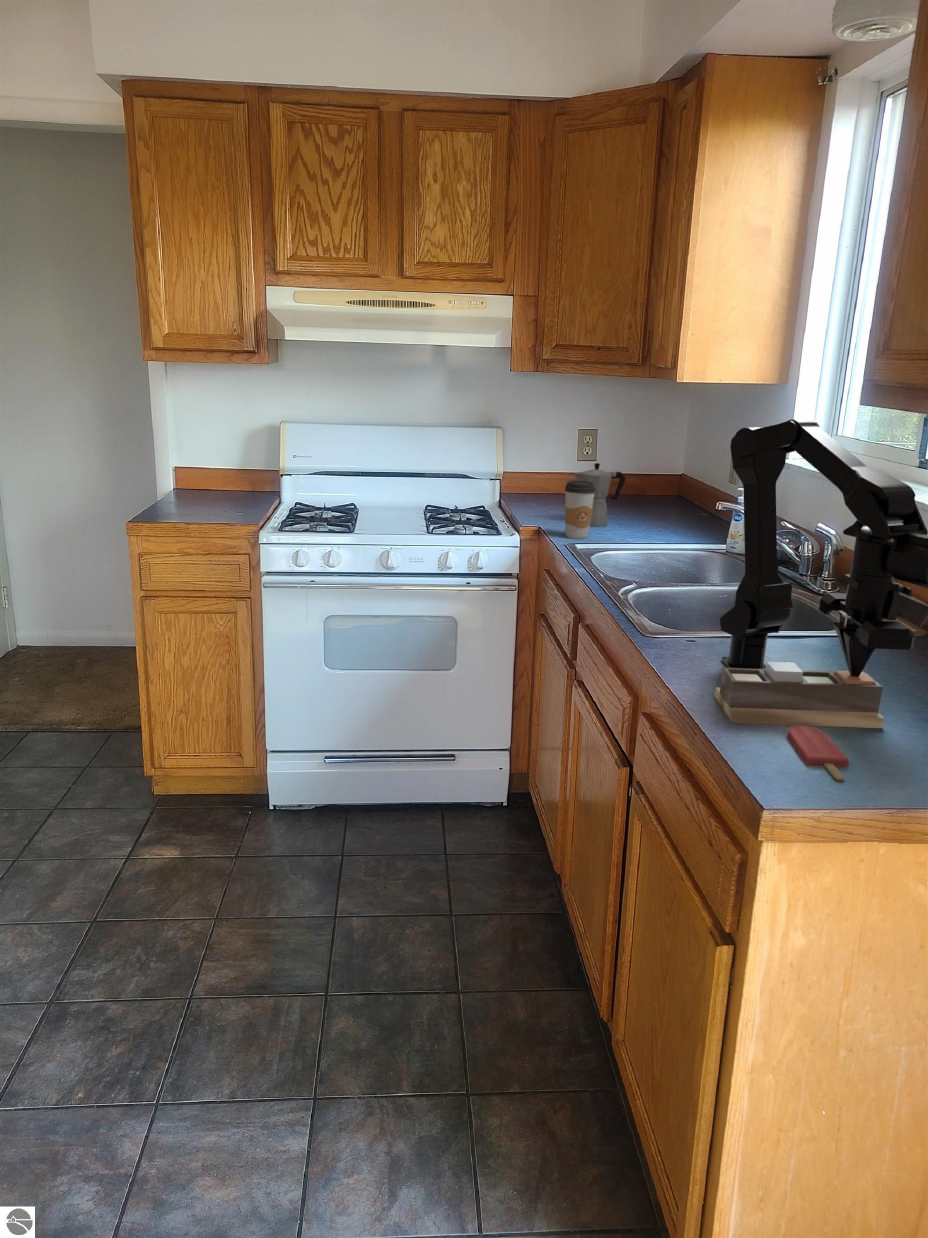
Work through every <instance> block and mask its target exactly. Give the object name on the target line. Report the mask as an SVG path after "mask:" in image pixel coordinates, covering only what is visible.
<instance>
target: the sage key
mask: <svg viewBox="0 0 928 1238" xmlns="http://www.w3.org/2000/svg"><path fill="white" fill-rule="evenodd" d="M803 678H804V679H805V680H806V681H807V682H808V683H828V684H834V683H833V682H832V681H831V680H830V679H829V678H828V677H820V676H803Z"/></svg>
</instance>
